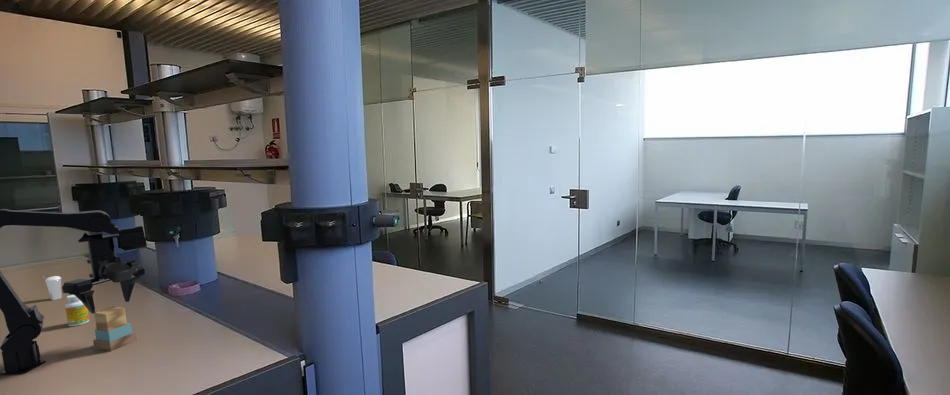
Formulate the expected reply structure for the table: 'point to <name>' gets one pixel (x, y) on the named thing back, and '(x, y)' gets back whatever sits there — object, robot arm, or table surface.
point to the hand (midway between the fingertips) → (110, 307)
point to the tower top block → (114, 333)
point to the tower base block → (114, 342)
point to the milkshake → (54, 287)
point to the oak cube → (110, 318)
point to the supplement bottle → (76, 311)
